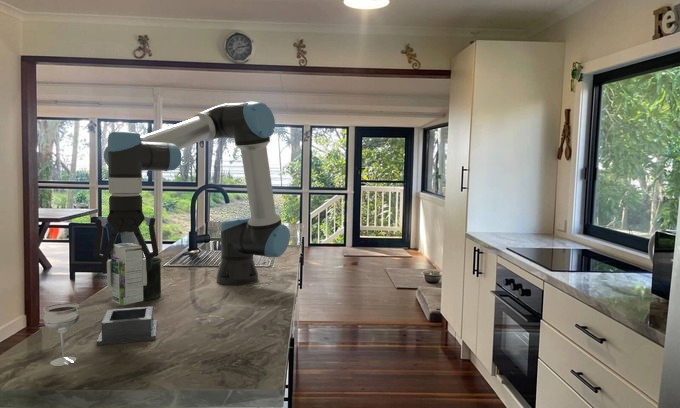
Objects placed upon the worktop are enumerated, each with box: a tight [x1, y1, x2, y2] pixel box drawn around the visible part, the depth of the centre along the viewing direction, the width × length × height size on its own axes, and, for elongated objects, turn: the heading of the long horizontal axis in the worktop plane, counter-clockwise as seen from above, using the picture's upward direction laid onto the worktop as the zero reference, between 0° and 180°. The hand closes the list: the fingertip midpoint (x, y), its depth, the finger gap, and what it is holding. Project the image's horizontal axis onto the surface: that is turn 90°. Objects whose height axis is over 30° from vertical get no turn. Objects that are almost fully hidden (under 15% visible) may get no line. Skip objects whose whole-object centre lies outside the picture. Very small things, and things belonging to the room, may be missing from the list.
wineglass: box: [43, 302, 80, 367], centre depth 103 cm, size 7×7×12 cm
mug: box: [143, 256, 163, 301], centre depth 153 cm, size 11×15×12 cm
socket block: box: [96, 305, 158, 346], centre depth 121 cm, size 13×13×5 cm
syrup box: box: [110, 242, 144, 306], centre depth 119 cm, size 6×6×14 cm
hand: (127, 285), depth 120 cm, fingers closed on syrup box, 7 cm apart
